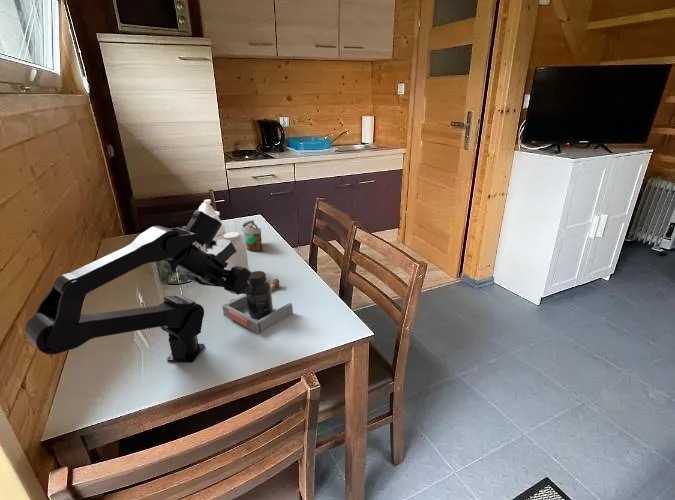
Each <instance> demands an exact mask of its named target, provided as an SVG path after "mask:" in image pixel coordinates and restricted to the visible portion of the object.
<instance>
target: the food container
mask: <svg viewBox="0 0 675 500" xmlns="http://www.w3.org/2000/svg"><path fill="white" fill-rule="evenodd" d="M241 233H243V236H244V240H245V241H244V242H245V244H246V251H249V252H252V253H253V252H254V253H260V252H263V242H262V230H261V227H258V225H257V224H256V223H255V220H253V219H252V220H248V221H245V222H243V224H242V225H241Z"/></svg>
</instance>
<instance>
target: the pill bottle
mask: <svg viewBox="0 0 675 500" xmlns="http://www.w3.org/2000/svg"><path fill="white" fill-rule="evenodd" d="M225 233H226V232H225ZM223 237H224V239H225V240H230V241H231V242H232V244H233V245H234V247H235V249H236V250H237V251H236V253H235V254H233V255H232V256H231V257H230V258H229V259H228V260H227V261H225V262H227V263H228V265H227V267H226V268H224V269H226V270H231V269H232V267H235V266H239V267H243V268H246V269H248V270H249V269H250V267H249V262H248V261H249V259H248V254H247V253H248V252H247V251H248V250H247V246H246V241H244V240H242V238H241V234H240V232H238V231H237V232H236V231H231V232H227V233H226V234H225V235H224V236H223ZM249 271H250V270H249Z"/></svg>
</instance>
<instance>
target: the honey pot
mask: <svg viewBox="0 0 675 500" xmlns="http://www.w3.org/2000/svg"><path fill="white" fill-rule="evenodd" d="M210 204H211V199H204V200H203V203H201V205H199V207H198V209H197V210H199V211H202V212H203V213H205V214H207V215H209V216H211V217H212V218H214V219H217V220H218V221H219V222H220V223H221V224H222V226H221V227H220V229H219V230H218V232H217V234H216V235H215V237H214V238H213V240H214V241H216V240H220V239H224V237H223V236H224V235H225V234H226V229H225V228H226V227H225V226H224V225H223V222H222V219H220V218H221V217H220V211H217V210H215V208H214V207H213V206H212V205H210ZM216 242H217V241H216ZM203 247H205V244H204V246H203Z"/></svg>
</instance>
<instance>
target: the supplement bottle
mask: <svg viewBox="0 0 675 500" xmlns="http://www.w3.org/2000/svg"><path fill="white" fill-rule="evenodd" d="M247 282H248V283H249V285H250V287H251V288H252V290H253V291H252V293H251V294H246V298H247V305H246V307H247V311H248V316H249V317H251V318H253V319H256V320H260V319H262V318H263V317H265V316H267V315H269V314H270V313H272V312H274V307H273V306H274V305H273V296H272V291H271V286H270V284H271V283H270V282H269V280H267V276H266V273H265V271H262V270H256V271H255V270H254V271H252V272H251V275H250V277H249V279H248V281H247Z"/></svg>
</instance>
